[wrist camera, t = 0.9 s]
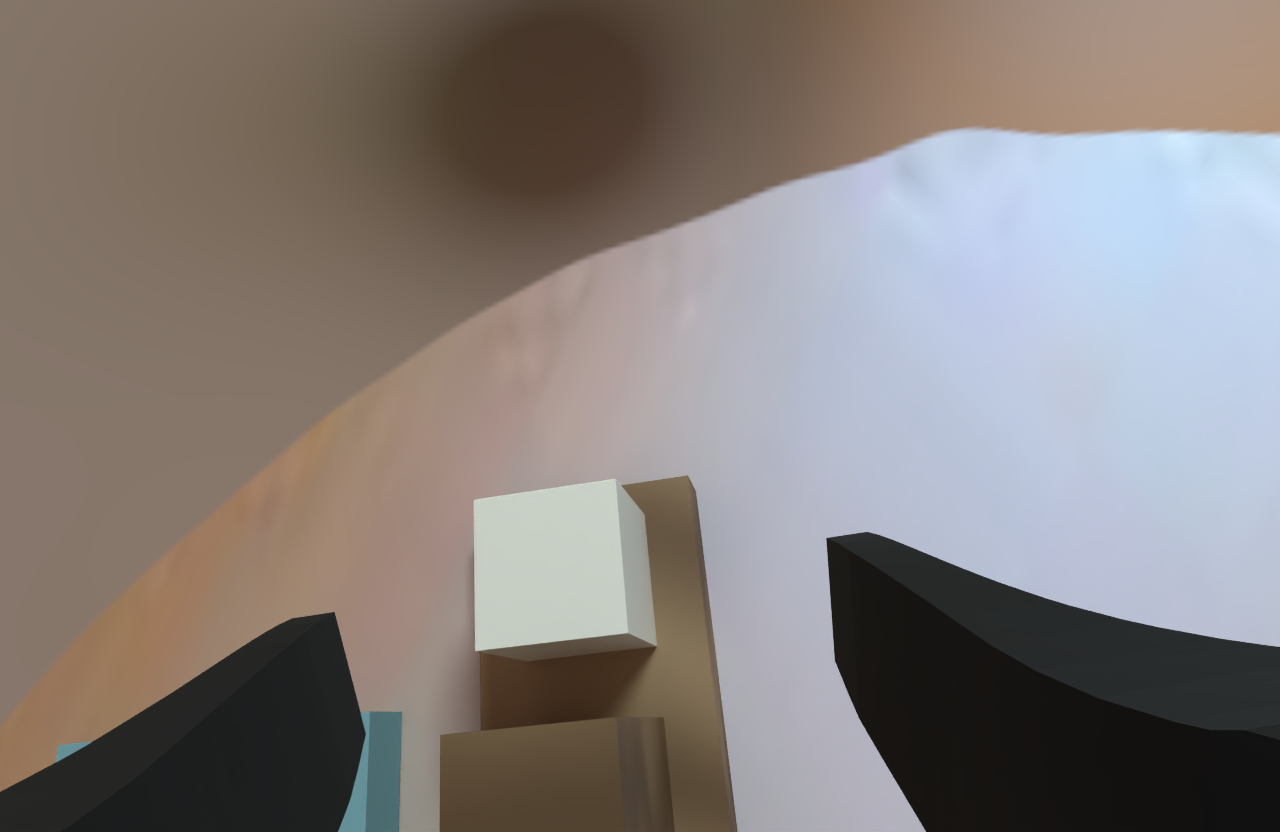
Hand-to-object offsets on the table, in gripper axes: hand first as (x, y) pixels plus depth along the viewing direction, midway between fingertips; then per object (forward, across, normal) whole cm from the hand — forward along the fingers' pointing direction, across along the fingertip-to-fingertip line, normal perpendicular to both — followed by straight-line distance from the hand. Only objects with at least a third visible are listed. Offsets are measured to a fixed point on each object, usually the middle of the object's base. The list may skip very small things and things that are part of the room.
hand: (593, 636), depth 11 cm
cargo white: (+12, +1, +5) cm, 13 cm away
